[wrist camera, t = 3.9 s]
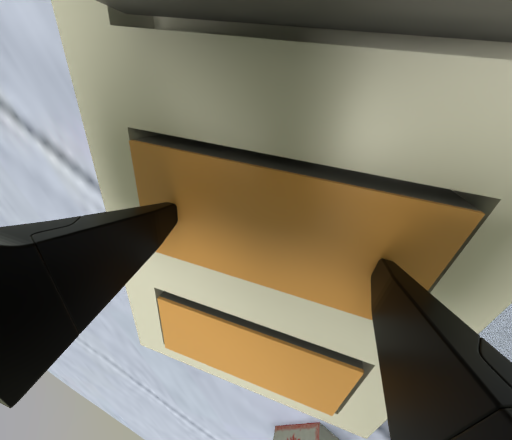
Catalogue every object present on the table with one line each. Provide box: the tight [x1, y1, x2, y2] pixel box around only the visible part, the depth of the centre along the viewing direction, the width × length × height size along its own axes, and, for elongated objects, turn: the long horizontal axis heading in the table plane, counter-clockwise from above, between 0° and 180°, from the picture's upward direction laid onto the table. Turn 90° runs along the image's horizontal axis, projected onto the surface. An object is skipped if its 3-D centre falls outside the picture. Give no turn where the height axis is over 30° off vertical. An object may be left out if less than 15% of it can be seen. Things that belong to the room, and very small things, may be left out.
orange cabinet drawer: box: [157, 291, 364, 416], centre depth 16 cm, size 13×6×3 cm, turn 84°
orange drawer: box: [129, 134, 485, 320], centre depth 10 cm, size 13×6×3 cm, turn 84°
